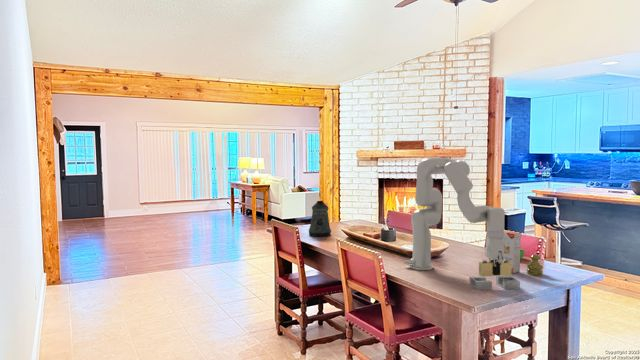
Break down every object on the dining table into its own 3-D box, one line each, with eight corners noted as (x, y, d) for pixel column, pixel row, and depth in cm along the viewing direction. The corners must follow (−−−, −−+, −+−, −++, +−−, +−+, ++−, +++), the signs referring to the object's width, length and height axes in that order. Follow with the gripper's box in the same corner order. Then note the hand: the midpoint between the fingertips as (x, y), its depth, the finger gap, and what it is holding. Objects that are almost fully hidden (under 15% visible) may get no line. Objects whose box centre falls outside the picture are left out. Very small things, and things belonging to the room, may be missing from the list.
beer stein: (310, 237, 328) (310, 203, 326) (306, 232, 347) (306, 199, 345) (333, 236, 331) (333, 202, 329) (327, 231, 350) (327, 199, 348)
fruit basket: (516, 256, 271) (516, 237, 270) (527, 259, 262) (527, 240, 262) (500, 258, 267) (500, 238, 266) (510, 261, 259) (511, 241, 258)
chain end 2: (504, 289, 209) (504, 281, 209) (496, 283, 218) (496, 276, 218) (519, 289, 209) (519, 281, 209) (510, 283, 218) (510, 275, 218)
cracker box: (489, 268, 245) (490, 229, 244) (496, 266, 249) (497, 228, 247) (513, 274, 234) (514, 233, 232) (520, 272, 237) (521, 232, 235)
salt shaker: (543, 276, 229) (544, 256, 228) (527, 275, 232) (527, 255, 231) (542, 272, 236) (542, 253, 235) (526, 271, 239) (526, 252, 238)
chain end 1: (476, 290, 208) (476, 282, 208) (469, 284, 217) (469, 276, 217) (491, 289, 209) (492, 282, 208) (483, 283, 218) (483, 276, 217)
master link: (481, 276, 211) (481, 261, 210) (478, 274, 214) (479, 260, 213) (511, 275, 212) (511, 261, 211) (508, 273, 215) (508, 259, 214)
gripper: (480, 231, 219) (479, 269, 221) (495, 238, 203) (494, 278, 204) (495, 231, 220) (495, 269, 221) (511, 237, 204) (511, 278, 205)
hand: (494, 273), depth 213 cm, fingers closed on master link, 3 cm apart
